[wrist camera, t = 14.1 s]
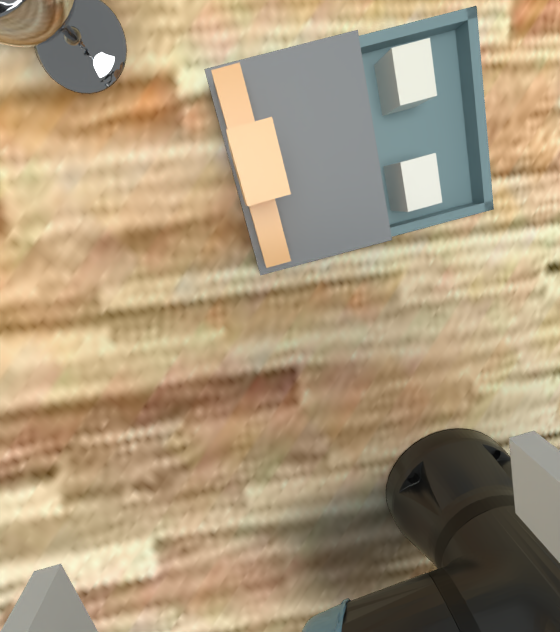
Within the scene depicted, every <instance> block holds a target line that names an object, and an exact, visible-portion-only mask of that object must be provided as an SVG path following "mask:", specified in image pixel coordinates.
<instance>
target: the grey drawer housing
mask: <svg viewBox="0 0 560 632" xmlns="http://www.w3.org/2000/svg"><path fill="white" fill-rule="evenodd" d="M239 62H240V65H241V69H242V73H243V77H244V81H245V85H246V89H247V92H248V96H249V100H250V104H251V108H252V112H253V116H254V119H255V121H258V120H262V119H265V118H269V117H272V119H273V123H274V127H275V131H276V135H277V139H278V143H279V147H280V151H281V155H282V159H283V163H284V167H285V171H286V175H287V179H288V184H289V188H290V192H291V194H290V195H286V196H283V197H279V198H276V199H275V201H276V204H277V208H278V212H279V216H280V220H281V224H282V228H283V232H284V235H285V239H286V243H287V247H288V251H289V255H290V259H291V261H290V262H286V263H283V264H279V265H276V266H272V267H269V268H266V265H265V263H264V260H263V256H262V253H261V249H260V245H259V242H258V238H257V235H256V231H255V228H254V224H253V220H252V217H251V213H250V210H249V206H246V205H245V202H244V198H243V195H242V191H241V188H240V184H239V180H238V177H237V173H236V170H235V166H234V163H233V159H232V156H231V152H230V149H229V143H228V138H227V133H226V129H227V128H226V124H225V120H224V117H223V113H222V110H221V106H220V103H219V99H218V95H217V92H216V88H215V85H214V81H213V76H212V71H211V70H213V69H217V68H221V67H224V66H228V65H232V64H235V63H239ZM205 73H206V76H207V80H208V84H209V88H210V91H211V95H212V99H213V102H214V106H215V110H216V113H217V117H218V121H219V124H220V128H221V132H222V135H223V139H224V143H225V146H226V150H227V154H228V158H229V161H230V165H231V169H232V172H233V176H234V180H235V183H236V187H237V191H238V194H239V198H240V202H241V205H242V209H243V213H244V216H245V220H246V224H247V228H248V231H249V235H250V239H251V242H252V246H253V250H254V253H255V257H256V261H257V264H258V268H259V272H260V275H263V274H267V273H271V272H274V271H278V270H282V269H286V268H289V267H293V266H297V265H300V264H304V263H308V262H312V261H315V260H319V259H323V258H326V257H330V256H334V255H338V254H341V253H345V252H349V251H352V250H356V249H360V248H364V247H367V246H371V245H375V244H378V243H382V242H386V241H390V240H392V236H391V230H390V224H389V218H388V212H387V206H386V200H385V194H384V188H383V182H382V175H381V169H380V163H379V157H378V151H377V145H376V139H375V133H374V127H373V121H372V114H371V108H370V102H369V96H368V90H367V84H366V78H365V72H364V66H363V60H362V53H361V47H360V41H359V35H358V30H355V31H351V32H347V33H344V34H340V35H336V36H332V37H328V38H324V39H320V40H316V41H312V42H308V43H305V44H301V45H297V46H293V47H289V48H285V49H281V50H277V51H273V52H270V53H266V54H262V55H258V56H254V57H250V58H246V59H242V60H238V61H234V62H231V63H227V64H223V65H219V66H215V67H211V68H207V69H205Z"/></svg>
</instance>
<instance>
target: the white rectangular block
mask: <svg viewBox="0 0 560 632" xmlns="http://www.w3.org/2000/svg"><path fill="white" fill-rule="evenodd" d="M374 67H375V74H376V80H377V86H378V92H379V98H380V104H381V110H382V116H384V115H388V114H392V113H396V112H399V111H403V110H407V109H410V108H414V107H416V106H418V105H420V104H422V103H424V102H426V101H428V100H430V99H432V98H434V97H435V96H437V91H436V83H435V75H434V67H433V59H432V51H431V43H430V38H427V39H423V40H419V41H416V42H412V43H408V44H404V45H401V46H397V47H393V48H391V49H390V50H389V51H388V52H387V53H386V54H385V55H384V56H383V57H382V58H381V59H380V60H379V61H378V62H377V63H376V64H375V65H374Z"/></svg>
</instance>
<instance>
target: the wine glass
mask: <svg viewBox="0 0 560 632" xmlns="http://www.w3.org/2000/svg"><path fill="white" fill-rule="evenodd" d="M0 44H4V45H9V46H14V47H32V46H34V49H35V52H36V55H37V57H38V59H39V61H40V64H41V65H42V67H43V68H44V70H45V71H46V72H47V73H48V74H49V76H50V77H51V78H52V79H53V80H55V81H56V82H57V83H58V84H60V85H61V86H63V87H65V88H66V89H69V90H71V91H74V92H78V93H88V94H90V93H97V92H100V91H102V90H105V89H107V88H108V87H110V86H111V85H112V84H113V83H114V82H115V81H116V80H117V79H118V77H119V76H120V75H121V73H122V70H123V68H124V65H125V61H126V53H127V48H126V39H125V35H124V32H123V29H122V27H121V24H120V22H119V21H118V19H117V17H116V15H115V14H114V13H113V12H112V10H111V9H110V8H109V7H108V6H107V5H106V4H105V3H104V2H103V1H101V0H0Z"/></svg>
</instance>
